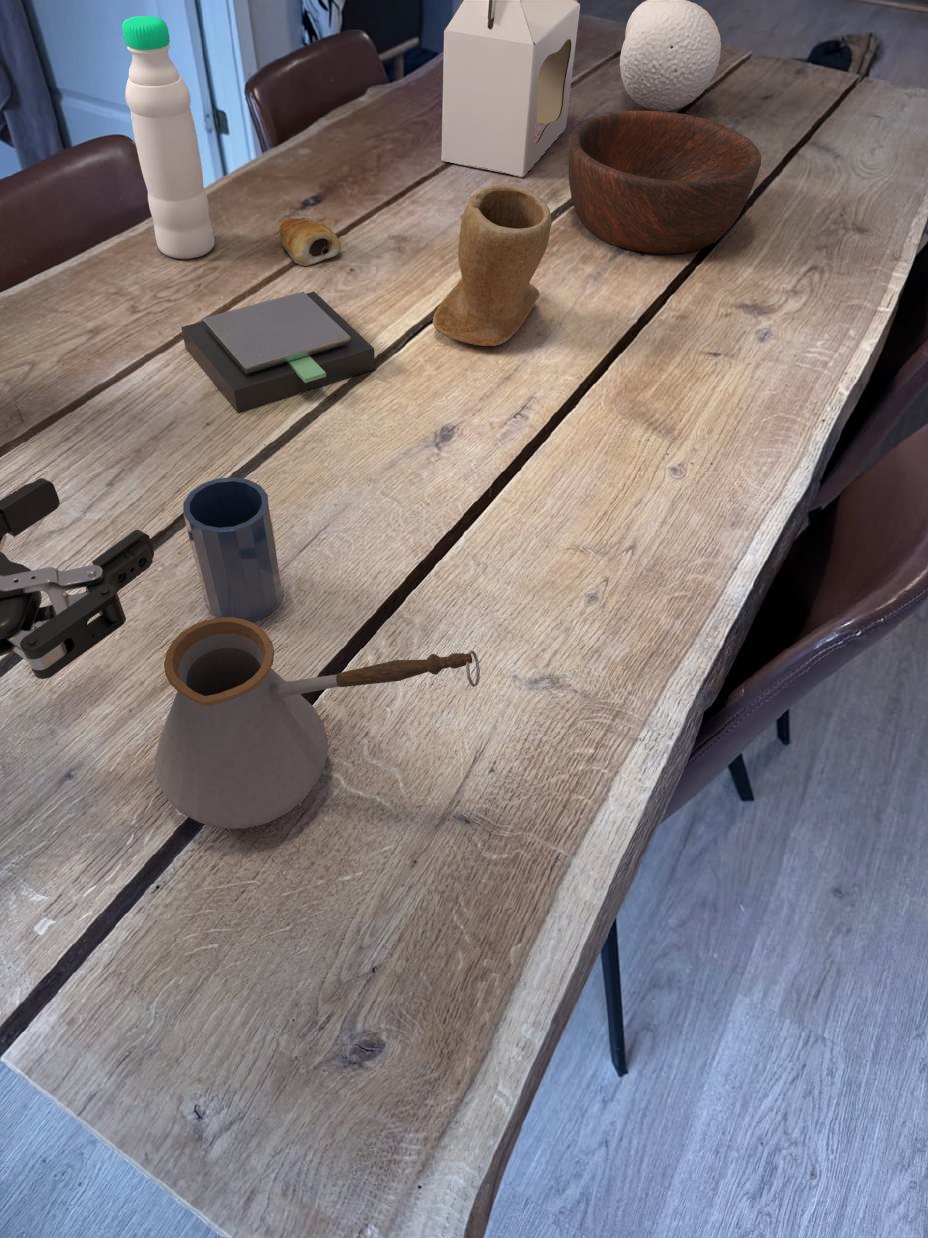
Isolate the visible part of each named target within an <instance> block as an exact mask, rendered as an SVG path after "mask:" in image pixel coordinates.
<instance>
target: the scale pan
mask: <svg viewBox="0 0 928 1238" xmlns="http://www.w3.org/2000/svg"><path fill="white" fill-rule="evenodd" d="M201 320H202V321H203V325H204V326H205V327H206V328H207V329H208V331H209V332H210V333H211V334H212V335H213V336H214V338H215V339H216V340H217V341H218V342H219V343H220V345H221V346H222V347H223V348H224V349H225V350H226V352H227V353H228V354H229V355H230V356H231V357H232V359H233V360H234V361H235V362H236V363H237V364H238V366H239V367H240V368H241V369H242V370H243V371H244V373H245V374H248V373H252V372H255V371H259V370H262V369H265V368H269V367H272V366H275V365H279V364H282V363H285V362H289V361H292V360H295V359H299V358H302V357H305V356H309V355H312V354H315V353H319V352H322V351H325V350H329V349H332V348H336V347H339V346H342V345H346V344H349V343H351V340H350V336H349V335H348V334H347V333H346V332H345V331H344V330H343V329H342V328H341V327H340V326H339V325H338V324H337V323H336V322H335V321H334V320H333V319H332V318H330V317H329V316H328V315H327V314H326V313H325V312H324V311H323V310H322V309H321V308H320V307H319V306H318V305H317V304H316V303H315V302H314V301H313V300H312V299H311V298H310V297H309V296H308V295H307V294H306V292H305V291H300V292H296V293H291V294H288V295H285V296H281V297H278V298H273V299H269V300H266V301H263V302H259V303H255V304H251V305H247V306H244V307H240V308H236V309H233V310H229V311H225V312H221V313H217V314H214V315H210V316H207V317H202V319H201Z"/></svg>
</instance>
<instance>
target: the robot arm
mask: <svg viewBox="0 0 928 1238" xmlns="http://www.w3.org/2000/svg"><path fill="white" fill-rule="evenodd" d="M60 504H61V501H60V498H59V496H58V493H57V490H56V487H55V485H54V483H53V482H52V481H49V480H47V479H46V478H44V477H40V478H38V479H36V480H35V481H32V482H30V483H26V484H24V485H22V486H20V487H19V488H18V489H15V490H14V491H13V492H12V493H9V494H8V495H6V496H5V497H3V498H1V499H0V657H3V656H5V655H8V654H11V653H16V654H17V655H18V656H20V657H21V658H22V659H23V660H25V661H26V662H27V663H28V665H29V666H30V668H31V670H32V673H33V675H34V677H35V678H37V679H39V680H47V679H50V678H52V677H53V676H55V675H56V674H57V673H59V672H60V671H61V670H63V669H64V668H66V667H67V666H68V665H71V663H73V662H74V661H75V660H77V659H78V658H79V657H80V656H82V655H84V654H85V653H86V652H88V651H89V650H91V649H92V648H94V647H95V646H97V644H99V643H100V642H101V641H103V640H104V639H106V638H107V637H108V636H110V635H111V634H112V633H114V632H116V631H117V630H118V629H120V628H121V627H122V626H123V625H125V623H126V622H127V617H126V614H125V611H124V608H123V606H122V603H121V602H122V601H121V599H120V597H119V595H118V593H119V592H120V591H121V590H122V589H123V588H124V587H126V586H127V585H129V584H130V583H131V582H132V581H133V580H135V579H136V578H137V577H140V576H141V574H142V573H144V572H145V571H147V570H149V568H150V567H151V565H152V564H153V563H154V560H153V559H154V557H155V551H154V547H153V543H152V540H151V536H150V535H149V534H148V533H145V532H144V531H142V530H140V529H135V530H133V531H132V532H130V533H129V534H127V535H126V536H125V537H123V538H122V539H121V540H119V541H118V542H117V543H115V544H114V545H112V546H110V548H108V549H107V550H105V551H104V552H103V553H101V554H100V555H99V556H97V557H96V558H95V559H93V560H91V562H92V565H86V566H81V567H77V568H72V569H67V570H59V569H57V568H56V567H51V566H50V567H49V566H48V567H42V568H38V569H34V570H32V569H31V568H29V567H27V566H25V565H24V564H22V563H19V562H14V561H11V560H10V559H9V558H8V557H7V556H6V554H5V553H4V552H3V549H4V546H5V543H6V541H7V539H8V538H7V534H9V535H10V536H12V537H13V538H15V537H17V536H18V535H20V534H22V533H23V532H25V531H26V530H28V529H29V528H31V527H32V526H33V525H36V524H37V523H38V522H39V521H42V519H44V518H45V517H47V516H49V515H51V514H52V513H53V512H54V511H56V510H57V509H58V508H59V507H60ZM82 588H85V590H86V591H84V592H80V593H75V594H69V593H67V591H73V590H78V589H82ZM42 592H44V593H46V594H47V595H48V598H49V601H50V603H51V604H50V605H46V606H41V605H42V600H43V594H42ZM98 614H99V615H98ZM96 615H98V616H97V617H96V618H93V617H95V616H96ZM92 618H93V620H91V619H92ZM90 620H91V621H90ZM88 622H89V623H88Z"/></svg>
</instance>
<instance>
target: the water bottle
mask: <svg viewBox="0 0 928 1238" xmlns="http://www.w3.org/2000/svg"><path fill="white" fill-rule="evenodd" d="M121 25H122V26H121V29H122V35H123V39H124V43H125V45H126V49H127V50H128V51H129V52H130V53H131V57H132V58H131V63H130V66H129V69H128V78H127V81H126V85H125V91H124V92H125V93H124V94H125V102H126V105H127V107H128V108H129V111H130V117H131V126H132V132H133V137H134V143H135V148H136V152H137V157H138V161H139V166H140V169H141V174H142V177H143V180H144V185H145V187H146V190H147V202H148V206H149V212H150V215H151V217H152V220H153V230H154V236H155V242H156V246H157V248H158V250H159V251H160V252H161V253H162V254H163V255H165V256H166V257H170V258H172V259H178V260H191V259H196V258H200V257H203V256H204V255H207V254H208V253H209V252H211V250H213V249H214V246H215V234H214V230H213V225H212V221H211V219H210V207H209V199H208V195H207V192H206V189H205V188H204V175H203V165H202V160H201V153H200V146H199V141H198V135H197V131H196V130H197V129H196V126H195V121H194V115H193V113H192V109H191V102H192V99H191V93H190V89H189V87H188V86H187V84H186V82H185V81H184V79H183V78H182V76H181V75H180V73H179V70H178V68H177V66H176V65H175V63H173V61H172V60H171V58H170V57H169V49H170V47H171V45H170V42H171V41H170V32H169V28H168V25H167V22H165V20H164V19H163V18H160V17H158V16H154V15H135V16H131V17H128V18H126V19H125V20H124V21H123V22H122V24H121Z"/></svg>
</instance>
